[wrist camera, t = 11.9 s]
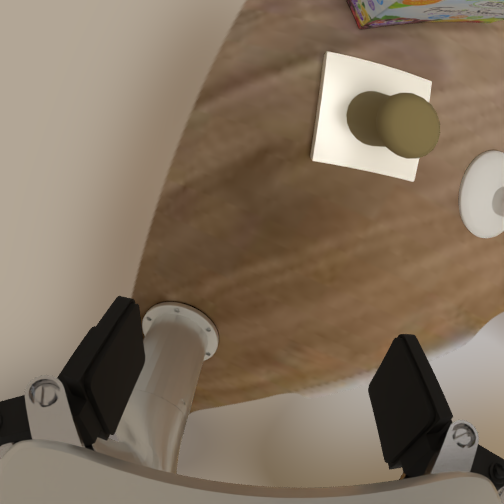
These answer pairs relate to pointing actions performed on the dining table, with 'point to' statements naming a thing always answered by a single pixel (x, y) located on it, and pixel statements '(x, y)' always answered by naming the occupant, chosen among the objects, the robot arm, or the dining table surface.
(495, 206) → the candlestick
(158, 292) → the dining table surface
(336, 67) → the tile base
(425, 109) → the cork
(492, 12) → the snack box
